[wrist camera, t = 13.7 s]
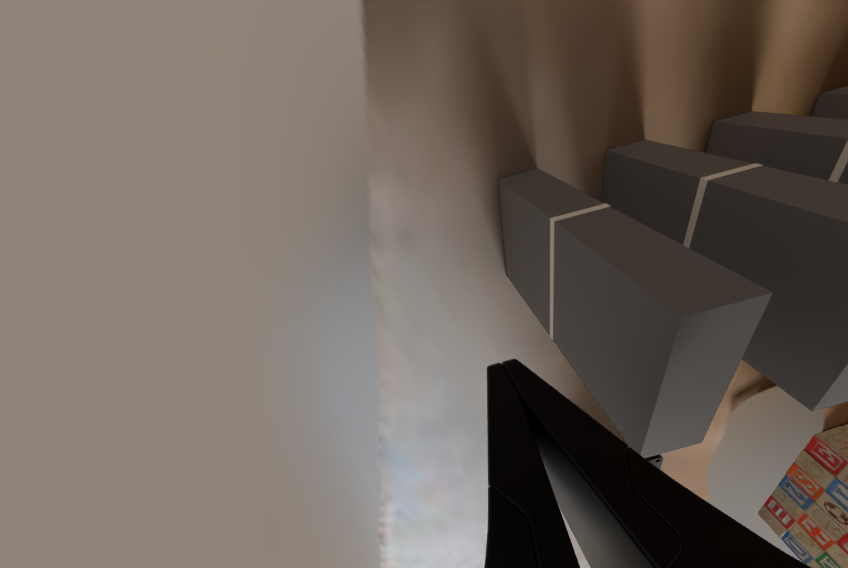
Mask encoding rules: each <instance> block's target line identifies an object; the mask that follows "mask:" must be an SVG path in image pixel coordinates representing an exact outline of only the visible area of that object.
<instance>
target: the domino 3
mask: <svg viewBox="0 0 848 568" xmlns="http://www.w3.org/2000/svg"><path fill="white" fill-rule="evenodd" d="M602 203H604V204H605V203H606V204H608V205H610V207H612V208H613V209H615V210H617V211H619V212H621V213H623V214H625V215H627V216H629V217H631V218H632V219H634V220H636V221H638V222H640V223H642V224H644V225H646V226H648V227H649V228H651V229H653V230H655V231H657V232H659V233H661V234H663V235H665V236H667V237H668V238H670V239H672V240H674V241H676V242H678V243H680V244H682V245H684V246H686V247H687V248H689V249H691V250H693V251H695V252H697V253H699V254H701V255H703V256H705V257H706V258H708V259H710V260H712V261H714V262H716V263H718V264H720V265H722V266H723V267H725V268H727V269H729V270H731V271H733V272H735V273H737V274H739V275H741V276H742V277H744V278H746V279H748V280H750V281H752V282H754V283H756V284H758V285H760V286H761V287H763V288H765V289H767V290H769V291H771V292H773V294H772V296H771V298H770V300H769V302H768V304H767V306H766V308H765V311H764V313H763V315H762V317H761V319H760V321H759V323H758V325H757V327H756V329H755V331H754V334H753V336H752V338H751V340H750V342H749V344H748V346H747V348H746V350H745V352H744V355H743V357H742V360H744V361H745V362H747V363H748V364H749V365H751V366H752V367H753V368H755V369H756V370H757V371H759V372H760V373H761V374H763V375H764V376H765V377H767V378H768V379H769V380H771V381H772V382H773V383H775V384H776V385H777V386H779V387H780V388H781V389H783V390H784V391H785V392H787V393H788V394H789V395H791V396H792V397H793V398H795V399H796V400H797V401H799V402H800V403H802V404H803V405H804V406H806V407H807V408H808V409H810V410H811V411H816V410H819V409H823V408H826V407H830V406H834V405H837V404H841V403H844V402H848V185H847V184H842V183H838V182H833V181H829V180H824V179H820V178H815V177H811V176H806V175H802V174H797V173H793V172H788V171H784V170H779V169H775V168H770V167H766V166H763V165H761V164H757V163H754V164H752V163H748V162H743V161H739V160H734V159H730V158H725V157H721V156H716V155H712V154H707V153H703V152H698V151H694V150H689V149H685V148H680V147H676V146H671V145H667V144H662V143H658V142H653V141H649V140H642V141H638V142H634V143H631V144H627V145H623V146H619V147H616V148H612V149H608V150H606V159H605V170H604V181H603V191H602Z"/></svg>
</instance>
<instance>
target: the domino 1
mask: <svg viewBox="0 0 848 568" xmlns="http://www.w3.org/2000/svg"><path fill="white" fill-rule="evenodd" d="M498 183H499V194H500V206H501V218H502V229H503V241H504V253H505V264H506V275H507V277H508V278H509V280H510V281H511V282H512V284H513V285H514V287H515V288H516V289H517V291H518V292H519V294H520V295H521V296H522V298H523V299H524V300H525V302H526V303H527V305H528V306H529V307H530V309H531V310H532V312H533V313H534V314H535V316H536V317H537V319H538V320H539V321H540V323H541V324H542V326H543V327H544V328H545V330H546V331H547V332H548V334H549V335H550V338H551V339H552V341H554V342H555V344H556V345H557V346H558V348H559V349H560V351H561V352H562V353H563V355H564V356H565V358H566V359H567V360H568V362H569V363H570V364H571V366H572V367H573V369H574V370H575V371H576V373H577V374H578V376H579V377H580V378H581V380H582V381H583V383H584V384H585V385H586V387H587V388H588V389H589V391H590V392H591V394H592V395H593V396H594V398H595V399H596V401H597V402H598V403H599V405H600V406H601V408H602V409H603V410H604V412H605V413H606V415H607V416H608V417H609V419H610V420H611V421H612V423H613V424H614V426H615V427H616V428H617V430H618V431H619V433H620V434H621V435H622V437H623V438H624V440H625V441H626V442H627V444H628V445H629V447H630V448H632V449H633V450H635V451H636V452H637V453H639V454H640V455H641V456H642V457H644V458H648V457H651V456H655V455H658V454H662V453H666V452H669V451H673V450H676V449H680V448H684V447H687V446H691V445H694V444H698V443H701V442H702V441H703V439H704V436H705V434H706V432H707V430H708V428H709V426H710V424H711V422H712V420H713V418H714V415H715V413H716V411H717V409H718V407H719V405H720V403H721V401H722V399H723V397H724V394H725V392H726V390H727V388H728V386H729V384H730V382H731V380H732V378H733V376H734V373H735V371H736V369H737V367H738V365H739V363H740V361H741V359H742V357H743V355H744V352H745V350H746V348H747V346H748V344H749V342H750V340H751V338H752V336H753V334H754V331H755V329H756V327H757V325H758V323H759V321H760V319H761V317H762V315H763V313H764V311H765V308H766V306H767V304H768V302H769V300H770V298H771V296H772V294H773V292H771V291H769V290H767V289H765V288H763V287H761V286H760V285H758V284H756V283H754V282H752V281H750V280H748V279H746V278H744V277H742V276H741V275H739V274H737V273H735V272H733V271H731V270H729V269H727V268H725V267H723V266H722V265H720V264H718V263H716V262H714V261H712V260H710V259H708V258H706V257H705V256H703V255H701V254H699V253H697V252H695V251H693V250H691V249H689V248H687V247H686V246H684V245H682V244H680V243H678V242H676V241H674V240H672V239H670V238H668V237H667V236H665V235H663V234H661V233H659V232H657V231H655V230H653V229H651V228H649V227H648V226H646V225H644V224H642V223H640V222H638V221H636V220H634V219H632V218H631V217H629V216H627V215H625V214H623V213H621V212H619V211H617V210H615V209H613V208H612V207H610V205H608V204H606V203H605V204H604V203H602V202H600V201H598V200H596V199H594V198H593V197H591V196H589V195H587V194H585V193H583V192H581V191H579V190H577V189H576V188H574V187H572V186H570V185H568V184H566V183H564V182H562V181H560V180H558V179H557V178H555V177H553V176H551V175H549V174H547V173H545V172H543V171H541V170H539V169H538V168H537V169H533V170H529V171H525V172H522V173H518V174H514V175H510V176H506V177H503V178H499V179H498Z"/></svg>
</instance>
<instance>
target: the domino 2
mask: <svg viewBox="0 0 848 568" xmlns="http://www.w3.org/2000/svg"><path fill="white" fill-rule="evenodd" d="M706 153H707V154H712V155H716V156H721V157H725V158H730V159H734V160H739V161H743V162H748V163H752V164H754V163H757V164H761V165H763V166H766V167H770V168H775V169H779V170H784V171H788V172H793V173H797V174H802V175H806V176H811V177H815V178H820V179H824V180H829V181H833V182H838V183H842V184H847V185H848V120H845V119H834V118H822V117H811V116H800V115H788V114H777V113H766V112H754V111H751V112H747V113H744V114H740V115H736V116H732V117H729V118H725V119H721V120H717V121H714V122H713V126H712V130H711V134H710V138H709V141H708V145H707V149H706Z"/></svg>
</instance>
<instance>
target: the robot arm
mask: <svg viewBox="0 0 848 568" xmlns="http://www.w3.org/2000/svg"><path fill="white" fill-rule="evenodd" d="M487 421H488V486H489V488H488V533H487V545H486V558H485V567H484V568H580V566H579V564H578V560H577V557H576V555H575V552H574V549H573V546H572V543H571V540H570V537H569V535H568V532H567V529H566V526H565V523H564V520H563V517H562V515H561V512H560V509H561V511H562V513H563V515H564V517H565V519H566V521H567V523H568V524H569V526H570V528H571V530H572V532H573V534H574V536H575V538H576V540H577V542H578V544H579V546H580V548H581V550H582V552H583V554H584V556H585V557H586V559H587V561H588V563H589V565H590V567H591V568H812V567H810V566H808V565H806V564H804V563H802V562H800V561H799V560H797V559H795V558H793V557H792V556H790V555H788V554H786V553H785V552H783V551H782V550H780V549H778V548H777V547H775V546H774V545H772V544H771V543H769V542H768V541H766V540H765V539H763V538H761V537H760V536H758V535H757V534H755V533H754V532H752V531H751V530H749V529H748V528H746V527H745V526H743V525H742V524H740V523H738V522H737V521H735V520H734V519H732V518H731V517H729V516H728V515H726V514H725V513H723V512H722V511H720V510H719V509H717V508H715V507H714V506H712V505H711V504H709V503H708V502H706V501H705V500H703V499H702V498H700V497H699V496H697V495H696V494H694V493H693V492H691V491H690V490H688V489H687V488H685V487H684V486H682V485H681V484H679V483H678V482H677V481H675V480H674V479H672V478H671V477H669V476H668V475H667V474H665V473H664V472H662V471H661V470H660V467H661V464H662V461H663V458H662V456H661V455H660V454H658V455H655V456H651V457H648V458H644V457H642V456H641V455H640V454H639V453H637V452H636V451H635V450H633V449H632V448H628V445H627V444H625V443H624V442H623V441H622V440H620V439H619V438H618V437H616V436H615V435H614V434H613V433H611V432H610V431H609V430H607V429H606V428H605V427H603V426H602V425H601V424H600V423H598V422H597V421H596V420H594V419H593V418H592V417H591V416H589V415H588V414H587V413H585V412H584V411H583V410H581V409H580V408H579V407H578V406H576V405H575V404H574V403H572V402H571V401H570V400H569V399H567V398H566V397H565V396H563V395H562V394H561V393H559V392H558V391H557V390H556V389H554V388H553V387H552V386H550V385H549V384H548V383H547V382H545V381H544V380H543V379H541V378H540V377H539V376H537V375H536V374H535V373H534V372H532V371H531V370H530V369H528V368H527V367H526V366H525V365H523V364H522V363H521V362H519V361H518V360H516V359H511V360H507V361H504V362H502V364H501V363H496V364H493V365H489V366H488V367H487ZM558 505H559V506H558ZM559 507H560V509H559Z"/></svg>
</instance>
